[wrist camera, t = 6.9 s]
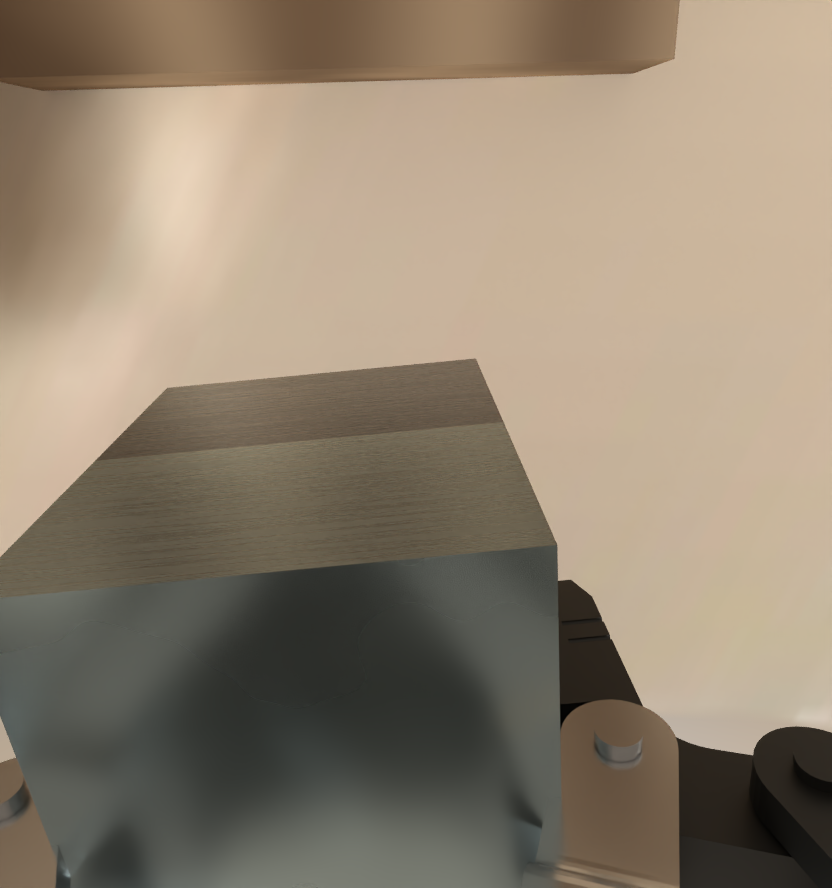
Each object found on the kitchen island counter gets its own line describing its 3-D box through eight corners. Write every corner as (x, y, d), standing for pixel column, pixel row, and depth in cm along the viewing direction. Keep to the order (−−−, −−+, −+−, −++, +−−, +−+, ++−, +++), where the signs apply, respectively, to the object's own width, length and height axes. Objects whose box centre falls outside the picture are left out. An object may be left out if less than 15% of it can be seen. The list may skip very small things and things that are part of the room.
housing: (476, 358, 11) (557, 544, 6) (498, 740, 14) (566, 1105, 9) (167, 388, 11) (-45, 602, 6) (252, 763, 14) (167, 1142, 9)
